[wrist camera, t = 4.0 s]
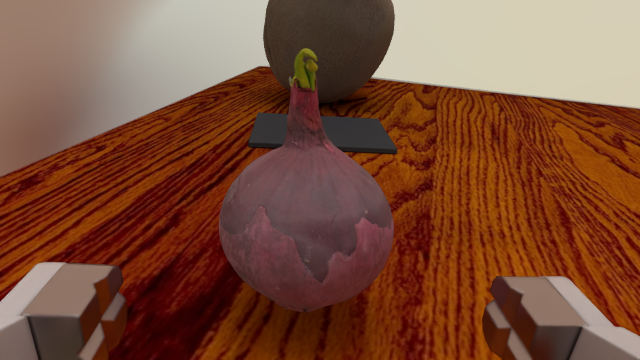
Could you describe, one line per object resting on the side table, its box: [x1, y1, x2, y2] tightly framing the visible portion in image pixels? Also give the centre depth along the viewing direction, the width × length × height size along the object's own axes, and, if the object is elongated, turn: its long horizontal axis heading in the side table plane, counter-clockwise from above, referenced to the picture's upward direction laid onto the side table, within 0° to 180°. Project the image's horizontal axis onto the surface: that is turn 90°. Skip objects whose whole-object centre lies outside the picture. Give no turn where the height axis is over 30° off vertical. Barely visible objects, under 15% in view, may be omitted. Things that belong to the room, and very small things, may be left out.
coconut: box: [263, 0, 395, 104], centre depth 47 cm, size 14×14×15 cm
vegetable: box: [219, 48, 394, 313], centre depth 15 cm, size 6×6×10 cm
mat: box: [248, 113, 397, 154], centre depth 38 cm, size 12×9×1 cm
